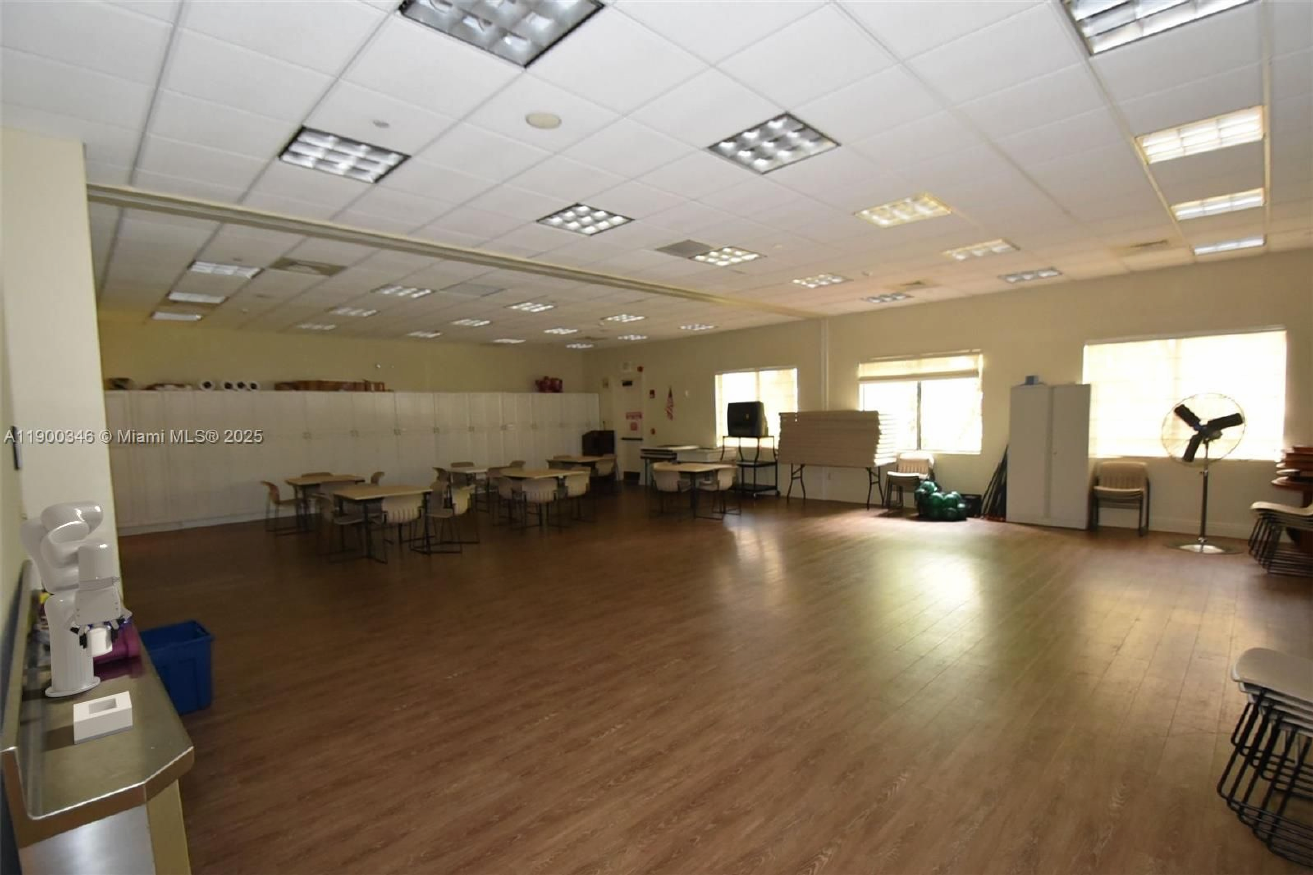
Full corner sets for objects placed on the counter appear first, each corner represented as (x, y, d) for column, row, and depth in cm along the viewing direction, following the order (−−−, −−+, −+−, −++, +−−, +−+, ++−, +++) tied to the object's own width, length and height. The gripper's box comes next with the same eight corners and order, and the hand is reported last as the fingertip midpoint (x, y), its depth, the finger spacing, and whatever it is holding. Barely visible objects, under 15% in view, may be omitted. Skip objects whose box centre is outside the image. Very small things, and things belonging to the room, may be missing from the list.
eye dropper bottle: (112, 653, 178) (110, 613, 177) (86, 658, 174) (84, 618, 173) (112, 649, 181) (110, 610, 180) (86, 654, 177) (84, 614, 176)
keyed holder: (74, 725, 168) (73, 704, 168) (129, 711, 176) (128, 691, 176) (74, 744, 158) (73, 722, 158) (132, 728, 166) (131, 707, 166)
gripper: (134, 576, 185) (136, 633, 186) (55, 587, 173) (58, 649, 174) (135, 580, 180) (138, 640, 180) (55, 593, 168) (58, 656, 168)
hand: (99, 644), depth 177 cm, fingers closed on eye dropper bottle, 5 cm apart
